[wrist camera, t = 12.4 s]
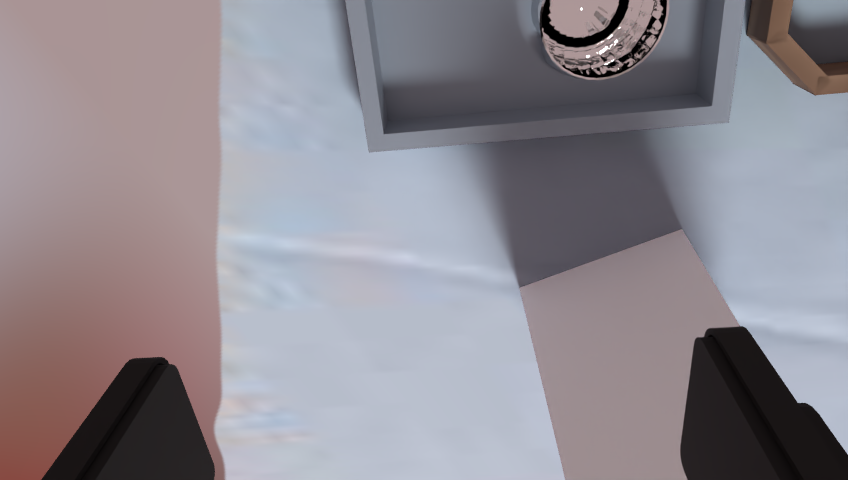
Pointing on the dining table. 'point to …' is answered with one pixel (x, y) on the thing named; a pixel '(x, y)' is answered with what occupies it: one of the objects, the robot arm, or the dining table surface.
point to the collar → (792, 49)
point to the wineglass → (591, 34)
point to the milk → (622, 356)
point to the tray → (527, 75)
